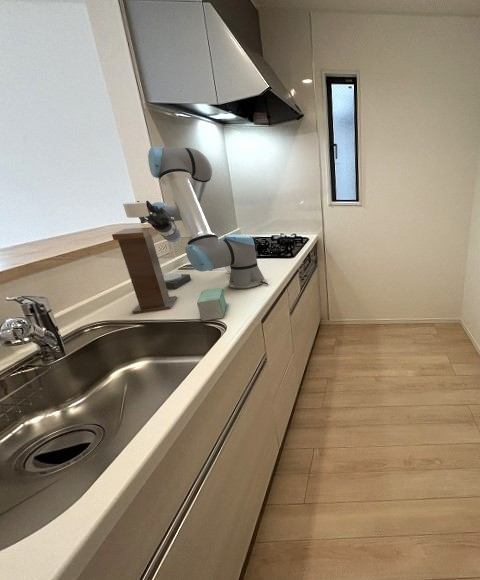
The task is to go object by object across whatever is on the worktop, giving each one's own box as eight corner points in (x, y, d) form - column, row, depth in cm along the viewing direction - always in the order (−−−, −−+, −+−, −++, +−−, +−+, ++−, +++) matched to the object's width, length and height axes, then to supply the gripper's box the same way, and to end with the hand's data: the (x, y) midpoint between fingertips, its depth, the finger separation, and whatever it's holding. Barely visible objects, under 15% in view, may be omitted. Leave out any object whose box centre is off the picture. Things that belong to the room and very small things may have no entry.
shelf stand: (143, 302, 128) (119, 229, 117) (176, 297, 132) (157, 226, 121) (133, 314, 117) (106, 234, 107) (170, 308, 122) (147, 232, 111)
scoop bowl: (146, 216, 119) (142, 203, 117) (124, 218, 116) (119, 204, 114) (160, 210, 137) (157, 198, 135) (141, 211, 134) (138, 199, 133)
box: (226, 304, 125) (222, 286, 122) (224, 317, 113) (219, 299, 111) (206, 307, 123) (201, 289, 120) (201, 321, 111) (196, 302, 108)
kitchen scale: (191, 279, 154) (189, 272, 153) (175, 289, 142) (173, 281, 141) (164, 280, 154) (162, 273, 152) (146, 289, 142) (143, 282, 140)
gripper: (182, 231, 151) (166, 211, 129) (144, 234, 146) (120, 213, 124) (180, 217, 152) (164, 194, 130) (142, 219, 147) (118, 196, 125)
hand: (142, 204), depth 127 cm, fingers closed on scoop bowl, 2 cm apart
